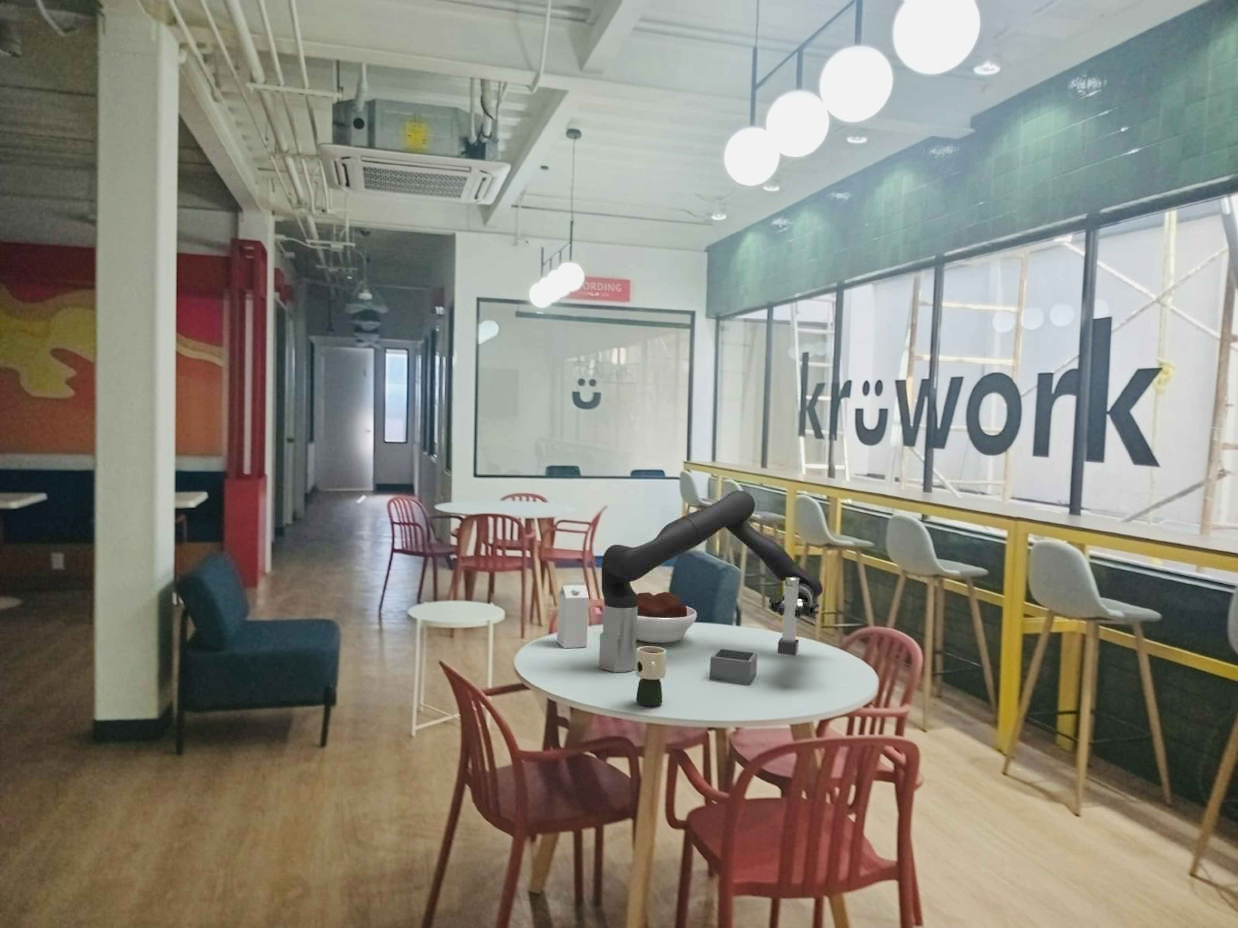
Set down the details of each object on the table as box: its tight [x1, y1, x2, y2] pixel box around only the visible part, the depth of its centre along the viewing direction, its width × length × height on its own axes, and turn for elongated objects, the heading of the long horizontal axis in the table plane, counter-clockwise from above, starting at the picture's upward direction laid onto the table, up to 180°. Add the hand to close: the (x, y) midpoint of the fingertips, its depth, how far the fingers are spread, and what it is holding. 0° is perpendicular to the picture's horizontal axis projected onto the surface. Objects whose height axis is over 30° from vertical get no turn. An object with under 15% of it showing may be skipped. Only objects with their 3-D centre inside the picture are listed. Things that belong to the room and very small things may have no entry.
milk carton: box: [556, 581, 590, 649], centre depth 257 cm, size 7×7×19 cm
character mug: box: [635, 645, 667, 707], centre depth 205 cm, size 11×7×13 cm, turn 3°
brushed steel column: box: [777, 577, 800, 657], centre depth 224 cm, size 5×5×20 cm
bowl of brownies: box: [636, 591, 698, 644], centre depth 268 cm, size 25×25×15 cm
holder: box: [709, 647, 758, 686], centre depth 231 cm, size 11×11×6 cm
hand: (788, 612), depth 222 cm, fingers closed on brushed steel column, 3 cm apart
